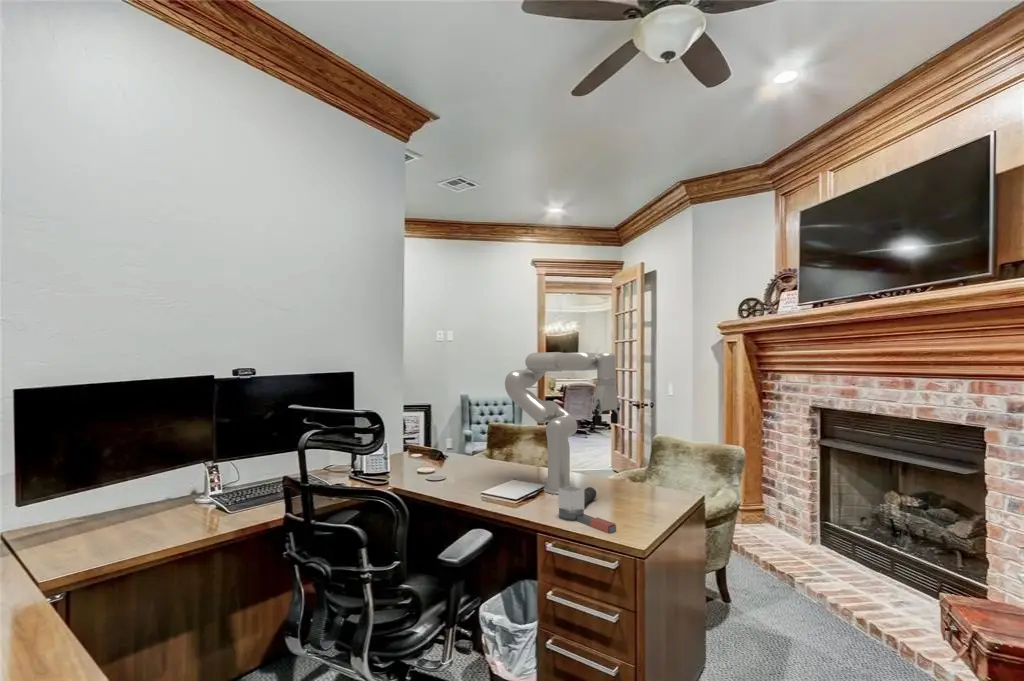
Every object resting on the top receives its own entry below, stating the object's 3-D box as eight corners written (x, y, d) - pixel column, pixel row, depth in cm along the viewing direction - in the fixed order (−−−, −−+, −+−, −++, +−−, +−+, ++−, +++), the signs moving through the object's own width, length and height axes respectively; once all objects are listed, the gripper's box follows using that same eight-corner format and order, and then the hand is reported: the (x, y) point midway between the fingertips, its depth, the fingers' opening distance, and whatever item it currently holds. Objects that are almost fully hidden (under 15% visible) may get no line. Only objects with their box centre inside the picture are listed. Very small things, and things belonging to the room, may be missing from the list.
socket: (558, 507, 176) (558, 488, 176) (571, 504, 180) (571, 485, 180) (571, 512, 171) (571, 492, 171) (584, 509, 175) (584, 489, 175)
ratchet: (621, 529, 163) (621, 508, 163) (603, 535, 157) (603, 513, 157) (571, 511, 182) (571, 492, 182) (553, 516, 176) (553, 496, 176)
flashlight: (585, 498, 200) (585, 485, 200) (597, 500, 197) (597, 486, 197) (570, 508, 186) (570, 493, 187) (583, 510, 184) (583, 495, 184)
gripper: (613, 381, 209) (613, 421, 208) (585, 382, 198) (585, 424, 198) (627, 382, 203) (627, 423, 202) (598, 383, 192) (598, 427, 192)
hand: (606, 424), depth 200 cm, fingers open, 9 cm apart
